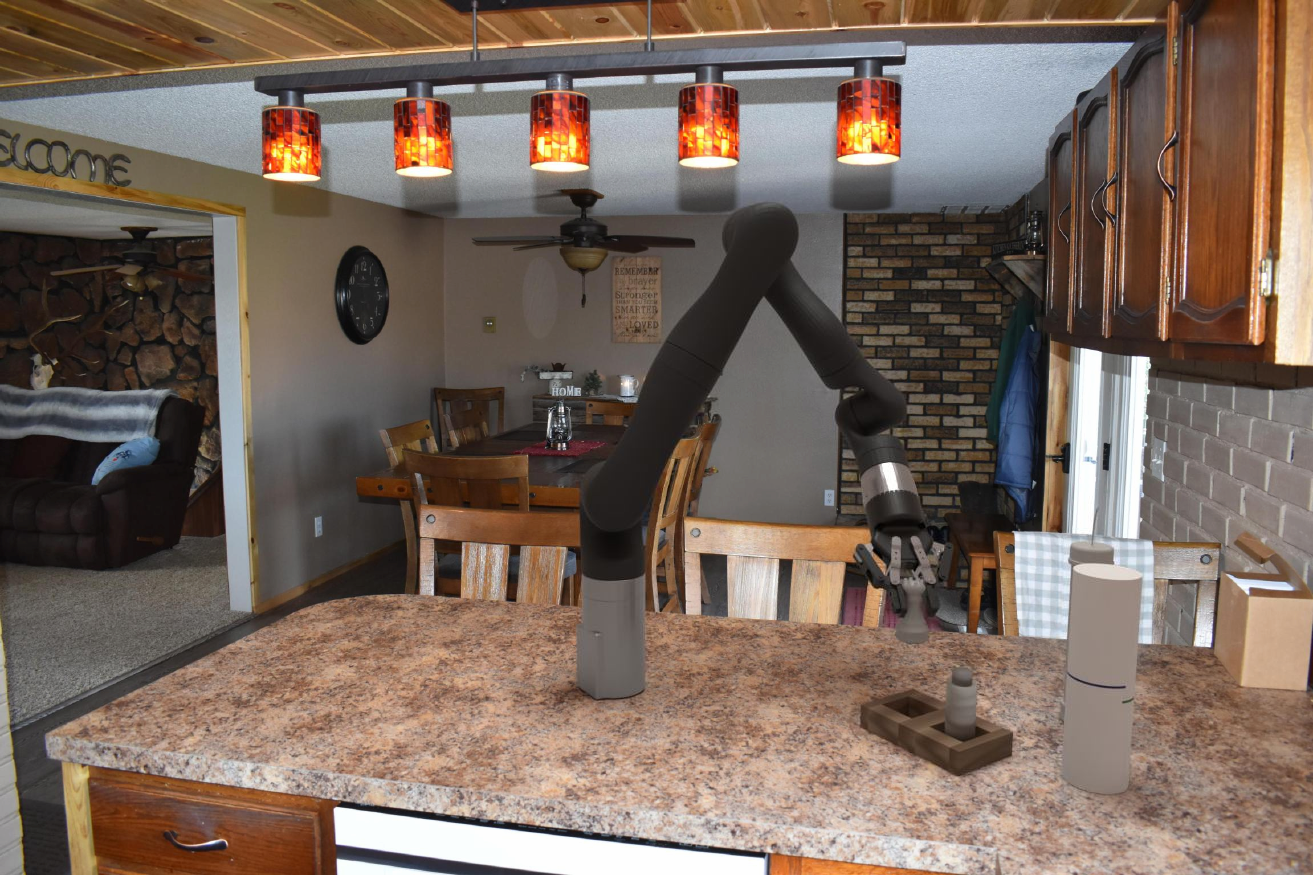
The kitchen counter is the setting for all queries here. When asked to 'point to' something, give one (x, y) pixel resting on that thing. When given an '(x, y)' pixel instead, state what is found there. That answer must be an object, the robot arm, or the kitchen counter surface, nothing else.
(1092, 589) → the cylindrical container
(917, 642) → the rook chess piece
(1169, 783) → the kitchen counter surface
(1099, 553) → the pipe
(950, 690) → the holder
